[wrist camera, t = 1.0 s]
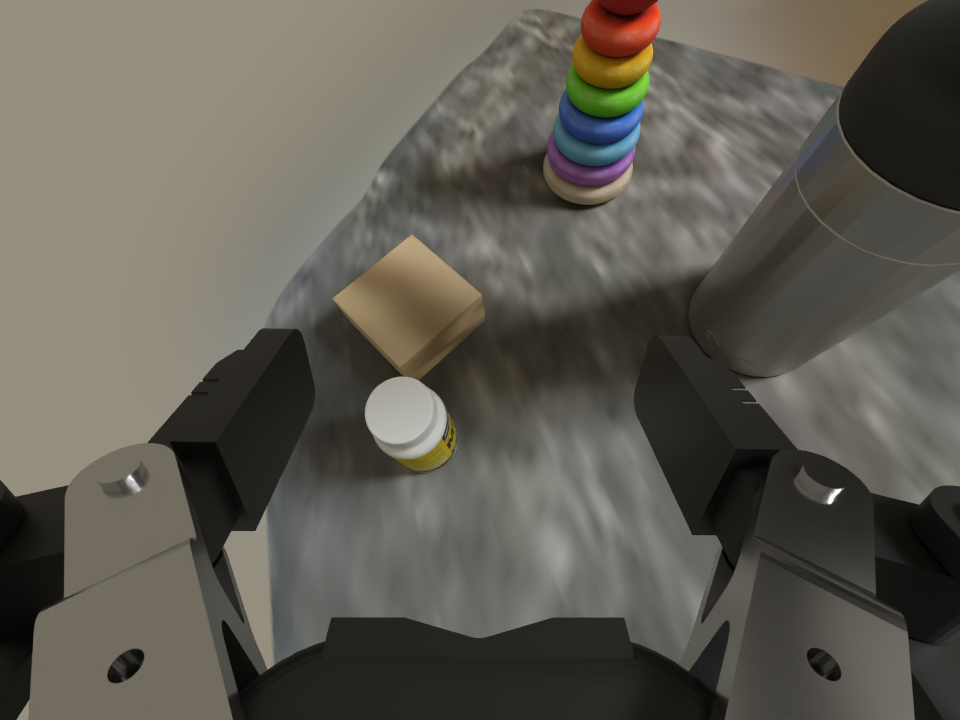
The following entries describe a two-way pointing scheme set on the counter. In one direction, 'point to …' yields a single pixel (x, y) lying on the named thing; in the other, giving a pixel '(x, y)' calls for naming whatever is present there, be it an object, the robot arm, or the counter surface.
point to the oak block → (412, 308)
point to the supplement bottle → (411, 424)
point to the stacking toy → (602, 102)
